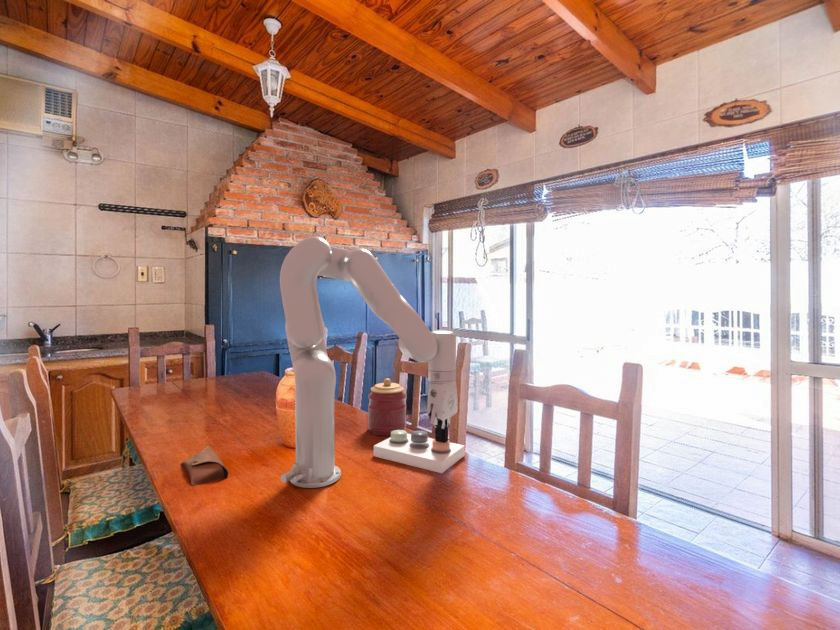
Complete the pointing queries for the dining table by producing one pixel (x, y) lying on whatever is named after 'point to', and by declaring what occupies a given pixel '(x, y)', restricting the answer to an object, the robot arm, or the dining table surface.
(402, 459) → the panel
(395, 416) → the canister
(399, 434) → the sage button
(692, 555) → the dining table surface
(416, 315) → the robot arm
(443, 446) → the terracotta button
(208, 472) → the sunglasses case
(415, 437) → the charcoal button
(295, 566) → the dining table surface
